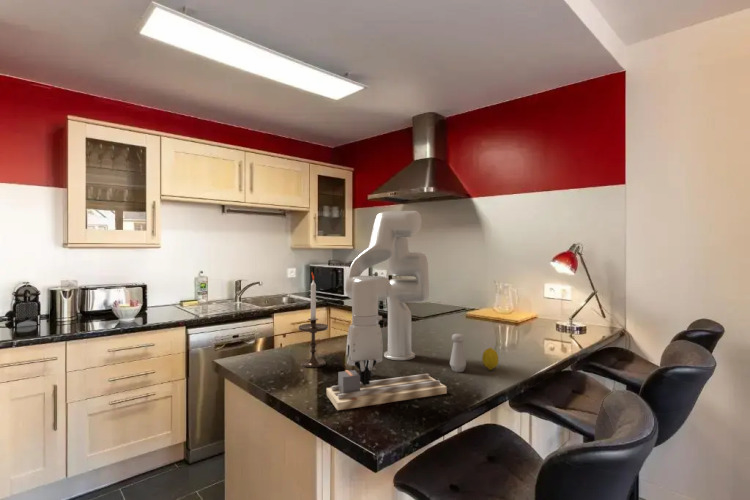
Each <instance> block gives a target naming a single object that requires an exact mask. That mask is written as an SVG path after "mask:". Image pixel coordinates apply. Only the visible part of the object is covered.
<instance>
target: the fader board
mask: <svg viewBox="0 0 750 500" xmlns="http://www.w3.org/2000/svg"><path fill="white" fill-rule="evenodd" d="M325 391H326V392H325V393H326V394H325V395H326V396H327V398H328V399H329V401H330V402H331V403H332V405H333V406H334V407H335V410H337V411H342V410H350V409H355V408H362V407H368V406H375V405H381V404H386V403H393V402H399V401H407V400H414V399H420V398H427V397H432V396H439V395H444V394H448V393H447V391H448V387H447V385H445V384H443V383H441V381H440V380H439V379H437V380H436V379H435V378H433V377H431V376H430V374H429V373H421V374H415V375H407V376H400V377H399V376H398V377H392V378H385V379H384V378H383V379H382V378H381V379H375V380H369V384H368V385H367V384H366V385H363V384H362V383H361V381H360V391H357V392H350V393H341V392H340V391H339V390H338V384H337V385H332V386H330V387H326V390H325Z"/></svg>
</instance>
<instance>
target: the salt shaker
mask: <svg viewBox="0 0 750 500" xmlns="http://www.w3.org/2000/svg"><path fill="white" fill-rule="evenodd" d="M451 340H452V341H453V344H452V350H451V353H450V360H449V366H450V367H451V370H452V371H453V372H456V373H461V372H464V371H465V369H466V366H467V360H466V355H465V351H464V350H465V349H464V343H463V342H464V341H465V335H464V334H462V333H453V334H452V335H451Z"/></svg>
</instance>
